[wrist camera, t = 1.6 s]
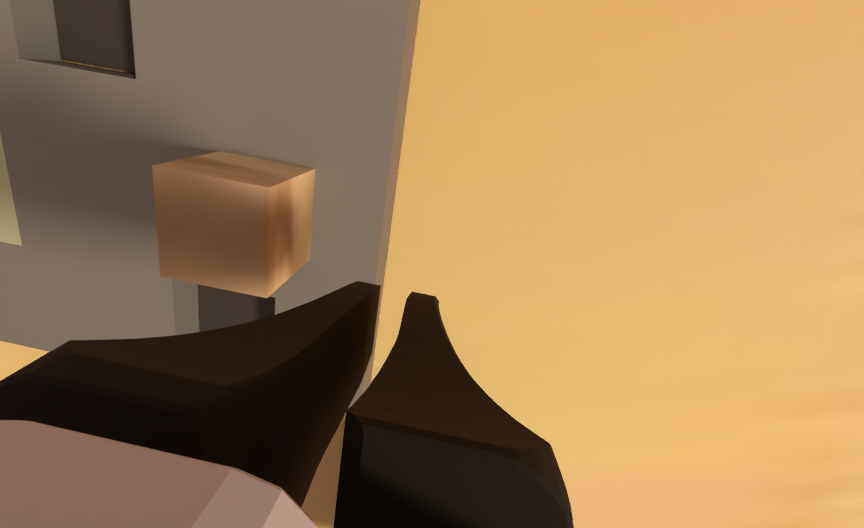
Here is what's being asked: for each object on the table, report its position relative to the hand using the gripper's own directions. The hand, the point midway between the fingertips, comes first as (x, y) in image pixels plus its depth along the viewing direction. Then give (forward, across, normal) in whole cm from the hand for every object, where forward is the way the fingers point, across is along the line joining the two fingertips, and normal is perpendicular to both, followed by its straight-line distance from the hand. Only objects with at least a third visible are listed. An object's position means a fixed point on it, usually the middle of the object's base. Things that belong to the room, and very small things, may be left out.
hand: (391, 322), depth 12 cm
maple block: (+7, +7, 0) cm, 10 cm away
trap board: (+9, +13, 0) cm, 16 cm away
